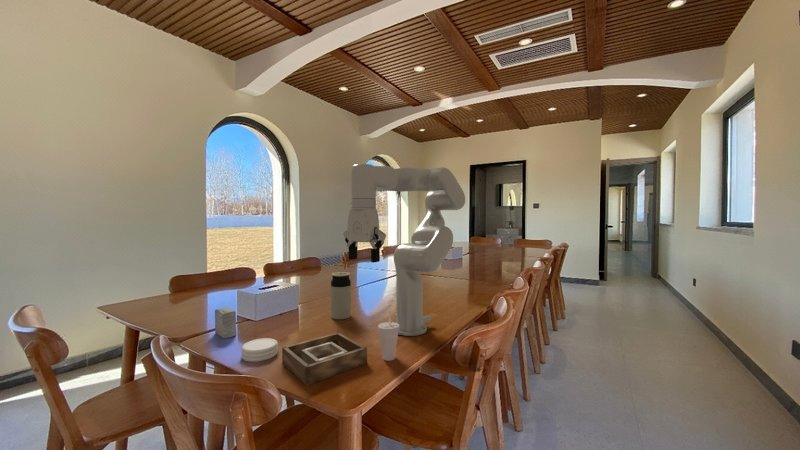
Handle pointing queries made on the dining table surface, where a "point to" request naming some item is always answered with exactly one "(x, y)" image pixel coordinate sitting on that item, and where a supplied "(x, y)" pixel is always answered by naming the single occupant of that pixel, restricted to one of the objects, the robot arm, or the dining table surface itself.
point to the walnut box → (323, 357)
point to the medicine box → (225, 322)
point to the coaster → (259, 349)
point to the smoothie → (388, 338)
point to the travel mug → (340, 295)
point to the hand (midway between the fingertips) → (363, 260)
